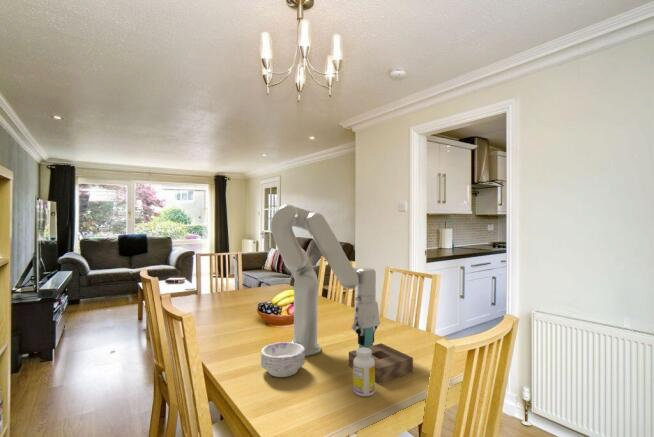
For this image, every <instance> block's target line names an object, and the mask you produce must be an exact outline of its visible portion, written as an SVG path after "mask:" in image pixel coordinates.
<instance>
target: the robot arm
mask: <svg viewBox="0 0 654 437" xmlns="http://www.w3.org/2000/svg"><path fill="white" fill-rule="evenodd" d="M293 227H294V228H298V229H301V230H305V231H307V232H308V233H309V235H310V236H311V239H312V240H313V241H314V243H315V245H316V246H317V248H318V249H319V251H320V253H321V255H322V256H323V258H324V259H325V261H326V262H327V263H328V265H329V267H330V269H331V270H332V271H333V274H334V276H335V277H336V279H337V280H338V283H340V285H341V286H342V287H343V289H346V290H352V289H355V288H356V297H355V301H356V302H355V307H354V313H353V314H354V315H353V316H354V318H353V323H352V325H351V330H353V331H354V332H355V333H356V335H357V344H358V345H359V344H360V345H362V346H364V336H363V332H364V329H367V328H371V327H373V344H374V343H375V334H376V331H377V329H378V327H379V326H380V324H381V322H380V313H379V312H380V311H379V305H378V301H376V300H377V298H376V296H377V294H376V290H377V288H376V287H377V286H376V285H377V284H376V282H377V281H376V278H377V276H376V275H377V271H376V270H375V269H374V268H372V267H361V268H358V267H353V264H352V262H350V259H348V257H347V255H346V253H345V251H344V249H343V247H342V245H341V242H340V241H339V240H338V238H337V237H336V234H335V233H334V231H333V229H332V228H331V226H330V224H329V223H328V221H327V219H326V218H325V216H324V215H323V214H322V213H320V212H314V211H310V210H307V209H304V208H300V207H297V206H294V205H292V204H290V203H289V204H286V203H285V204H283V205H281V206H280V207H278V209H277V210H276V211H275V213H274V214H273V216H272V218H271V222H270V232H271V235H272V237H273V238H272V239H273V240H274V242H275V245H276V247H277V250H278V252H279V254H280V256H281V259H282V261H283V264H284V266H285V267H286V268H287V269H288V270H289V271H290V273H291V275H292V277H293V279H294V282H293V338H291V341H290V342H292V343H297V344H300V345H302V346H303V347H304V349H305V357H310V356H315V355H317V354H319V353H320V352H321V350H322V346H321V345H320V344H319V343H318V298H319V297H318V296H319V294H318V292H319V291H318V290H319V282H318V275H317V273H316V271H315V269H314V267H313V265H312V263H311V260H310V257H309V256H308V254H307V252H306V250H305V249H303V248H302V247H301V246H300V244H299V241H298V239H297V237H296V234H295V232H294V231H293V230H294V229H293ZM360 329H361V331H360Z"/></svg>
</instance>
